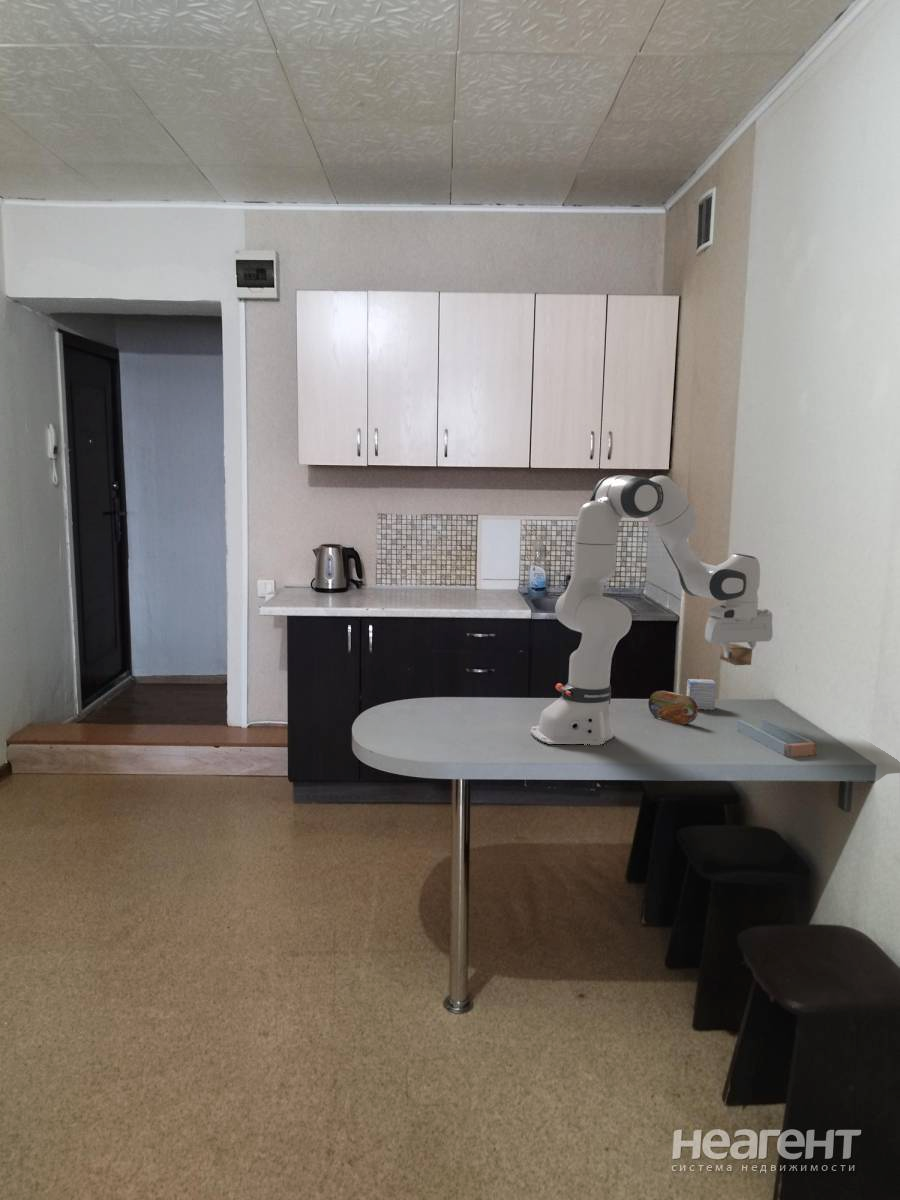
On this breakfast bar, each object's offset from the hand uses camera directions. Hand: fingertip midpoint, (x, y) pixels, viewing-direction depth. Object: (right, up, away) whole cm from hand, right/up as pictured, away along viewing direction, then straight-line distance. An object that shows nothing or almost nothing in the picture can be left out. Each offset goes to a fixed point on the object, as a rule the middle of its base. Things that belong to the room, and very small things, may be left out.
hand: (737, 656), depth 236 cm
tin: (-18, -19, +2) cm, 26 cm away
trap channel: (+5, -22, -16) cm, 28 cm away
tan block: (0, -2, +1) cm, 2 cm away
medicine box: (-6, -17, +15) cm, 23 cm away
